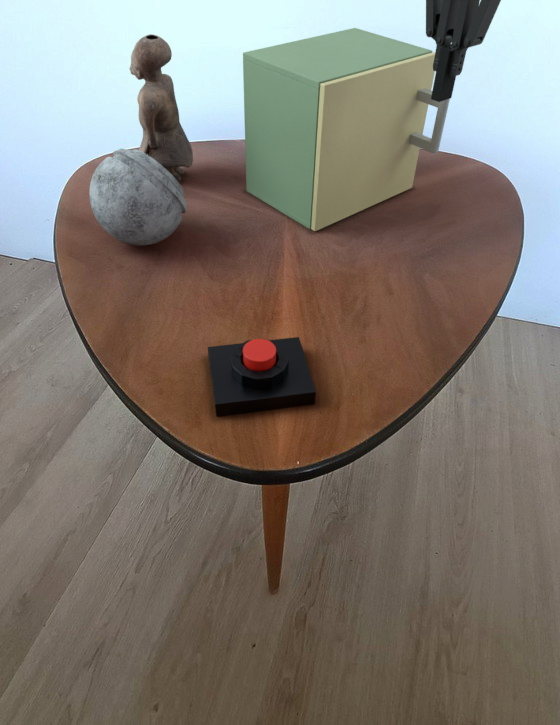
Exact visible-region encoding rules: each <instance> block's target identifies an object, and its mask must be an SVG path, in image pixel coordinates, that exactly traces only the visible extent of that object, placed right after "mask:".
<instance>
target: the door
mask: <svg viewBox="0 0 560 725" xmlns="http://www.w3.org/2000/svg"><path fill="white" fill-rule="evenodd" d="M435 52H436V51H432V53H429V54H425V55H422V56H418V57H415V58H411V59H408V60H404V61H400V62H397V63H393V64H390V65H386V66H382V67H379V68H375V69H372V70H368V71H365V72H361V73H357V74H354V75H350V76H347V77H343V78H339V79H336V80H332V81H329V82H325V83H322V84H320V98H319V114H318V129H317V145H316V161H315V176H314V192H313V208H312V223H311V229H310V230H311V231H313V232H317V231H319V230H321V229H325V228H326V227H328V226H330V225H333V224H334V223H338V222H340V221H342V220H344V219H346V218H348V217H351V216H352V215H354V214H357V213H359V212H361V211H364V210H366V209H368V208H370V207H372V206H375V205H377V204H379V203H382V202H383V201H386V200H388V199H390V198H393V197H395V196H397V195H399V194H401V193H404V192H406V191H408V190H410V189H413V185H414V180H415V175H416V170H417V164H418V160H419V154H420V149H421V150H424V151H426V152H428V153H431V154H437V153H439V151H440V145H441V142H442V136H443V132H444V127H445V123H446V117H447V115H448V114H447V113H448V108H449V105H450V100H451V98H450V99H447V100H444V101H441V102H438V101H435V100H432V99H431V95H432V90H433V85H434V80H435V75H436V71H433V62H434V57H435ZM429 106H432V107H435V108H437V110H436V115H435V120H434V124H433V129H432V134H431V137H428V136H427V135H424V129H425V125H426V119H427V114H428V108H429Z"/></svg>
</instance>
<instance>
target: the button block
mask: <svg viewBox="0 0 560 725" xmlns="http://www.w3.org/2000/svg"><path fill="white" fill-rule="evenodd" d="M300 339H301V338H300V337H299V336H295V337H286V338H278V339H267V340H268V341H270V342H272V343H273V344H274V345H275V347H276V363H275V365H274V366H273V367H272V368H271V369H269V370H267V371H259V372H257V371H253V370H250V369H248V368H247V367H246V366H245V365H244V362H243V347H244V346H245V344H246V343H247V342H249V341H251V340H252V339H248V340H246V341H244V342H240V343H231V344H222V345H213V346H212V345H211V346H207V355H208V364H209V372H210V380H211V387H212V393H213V402H214V408H215V417H223V416H231V415H240V414H247V413H255V412H263V411H271V410H279V409H285V408H295V407H303V406H310V405H315V404H316V396H317V390H316V387H315V383H314V381H313V378H312V375H311V371H310V367H309V365H308V362H307V358H306V355H305V352H304V348H303V346H302V343H301V340H300Z"/></svg>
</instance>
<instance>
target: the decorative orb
mask: <svg viewBox="0 0 560 725" xmlns="http://www.w3.org/2000/svg"><path fill="white" fill-rule="evenodd" d="M88 191H89V192H88V193H89V196H88V197H89V203H90V207H91V211H92V213H93V215H94V217H95V219H96V221H97V222H98V224H99V225H100V226H101V227H102V229H103V230H104V231H105V232H106V233H107V234H109V235H110V236H111V237H112V238H114V239H115V240H118V241H120V242H121V243H125V244H128V245H132V246H149V245H151V246H152V245H154V244H157V243H160V242H162V241H165V239H167V238H168V237H170V236H171V235H172V234H173V233H174V232H175V231H176V230H177V228H178V227H179V226H180V223H181V222H182V218H183V217H182V215H181V214H185V213H186V210H187V206H188V205H187V201H186V199H185V196H184V194H185V191H184V188H183V186H182V185H181V183H180V181H177V180H176V179H175V178H174V176H173V175H172V174H171V173H170V172H169V171H168V170H166V169H165V168H164V167H163V166H162V165H161V164H160V163H158V162H157V161H156V160H154V159H153V158H152V157H150V156H149V155H148V154H145V153H144V152H142V151H139V149H132V150H131V149H126V148H119V149H117V150H114V151H113V152H112V156H107V157H105V158H104V159H103V160H102V161H101V162H100V163H99V164H98V166H97V167H96V168H95V170H94V172H93V174H92V177H91V180H90V183H89V189H88Z"/></svg>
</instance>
